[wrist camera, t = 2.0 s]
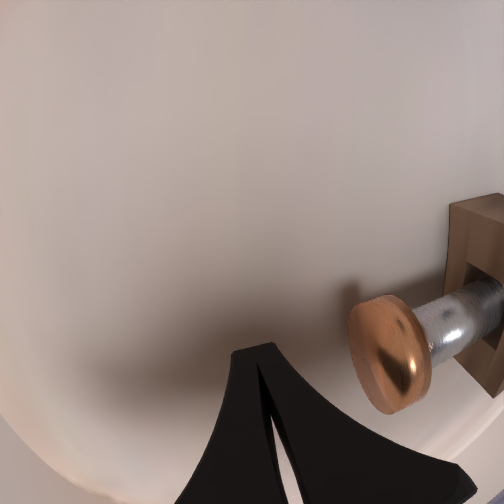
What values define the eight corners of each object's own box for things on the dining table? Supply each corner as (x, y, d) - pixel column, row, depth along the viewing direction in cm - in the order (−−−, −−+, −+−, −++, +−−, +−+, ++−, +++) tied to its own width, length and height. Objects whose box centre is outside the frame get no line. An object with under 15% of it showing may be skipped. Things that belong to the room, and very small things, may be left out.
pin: (466, 243, 10) (533, 279, 6) (455, 317, 11) (505, 361, 7) (346, 283, 9) (413, 352, 6) (347, 364, 11) (390, 434, 7)
